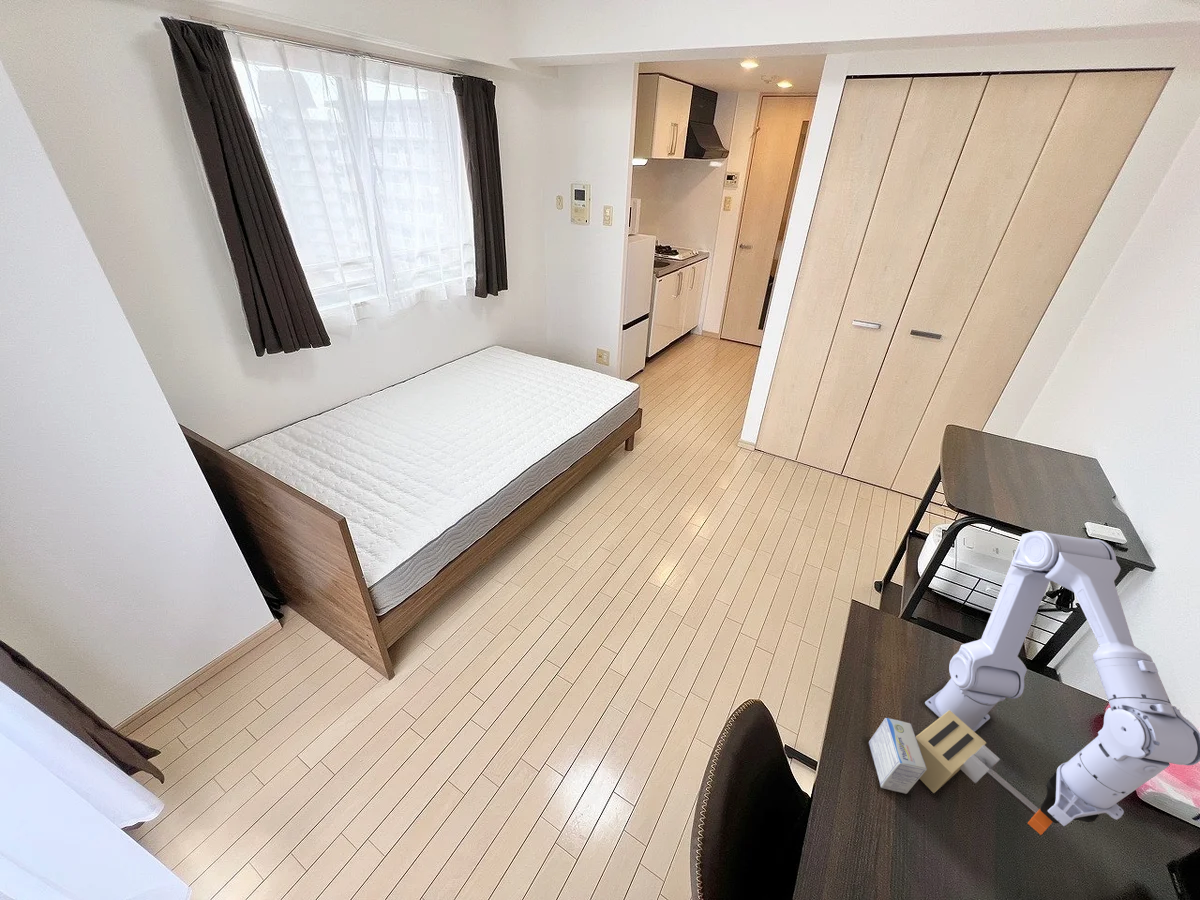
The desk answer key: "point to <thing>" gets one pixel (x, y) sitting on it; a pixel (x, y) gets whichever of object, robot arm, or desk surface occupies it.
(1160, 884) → the desk surface
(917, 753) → the medicine box
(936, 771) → the toaster
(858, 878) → the desk surface
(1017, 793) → the lever
